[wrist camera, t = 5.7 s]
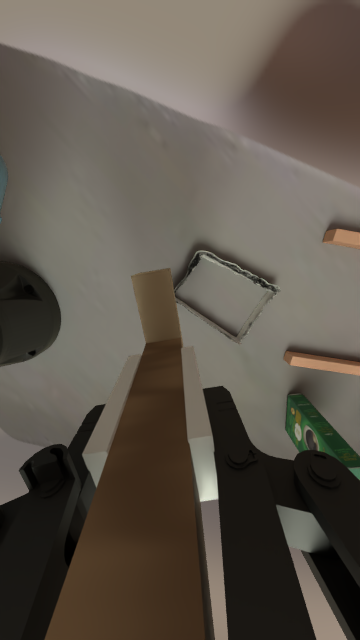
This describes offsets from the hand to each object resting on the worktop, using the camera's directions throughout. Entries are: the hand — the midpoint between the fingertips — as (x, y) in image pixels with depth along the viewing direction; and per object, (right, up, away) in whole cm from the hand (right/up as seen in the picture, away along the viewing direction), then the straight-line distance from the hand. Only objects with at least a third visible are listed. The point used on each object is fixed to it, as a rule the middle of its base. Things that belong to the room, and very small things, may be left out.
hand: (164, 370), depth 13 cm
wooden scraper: (0, +1, +5) cm, 5 cm away
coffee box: (+22, -14, +24) cm, 35 cm away
